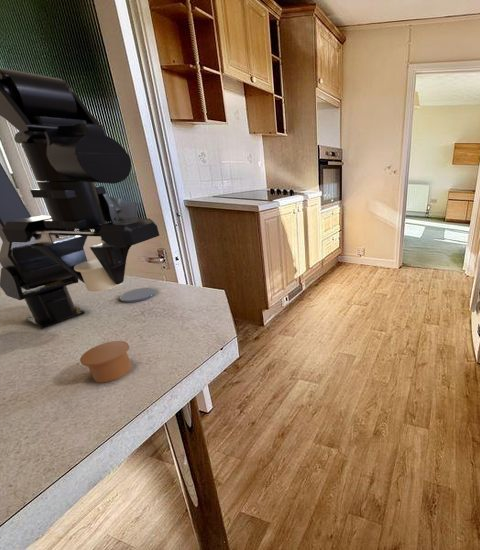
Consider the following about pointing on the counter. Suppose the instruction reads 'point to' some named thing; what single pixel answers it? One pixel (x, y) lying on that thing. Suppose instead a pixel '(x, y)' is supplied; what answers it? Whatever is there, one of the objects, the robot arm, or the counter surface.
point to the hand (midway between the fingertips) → (104, 282)
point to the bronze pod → (107, 361)
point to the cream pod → (95, 275)
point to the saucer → (137, 295)
